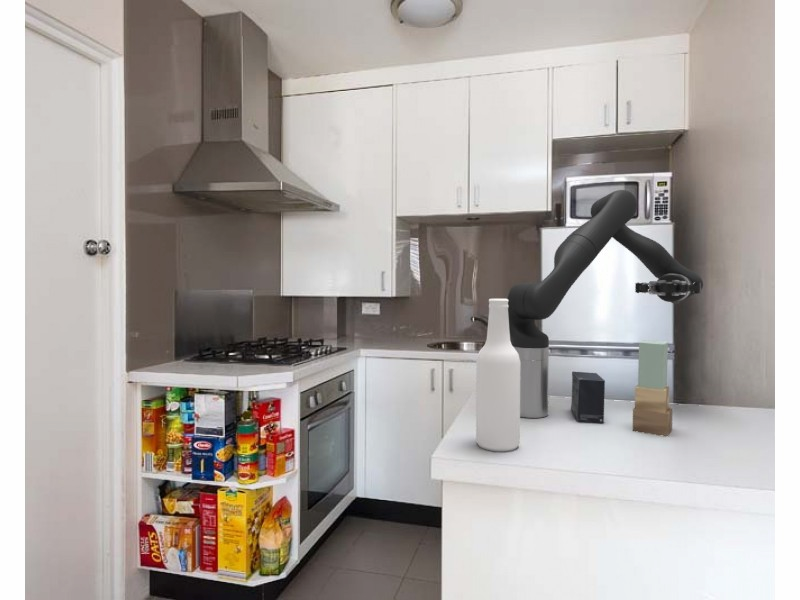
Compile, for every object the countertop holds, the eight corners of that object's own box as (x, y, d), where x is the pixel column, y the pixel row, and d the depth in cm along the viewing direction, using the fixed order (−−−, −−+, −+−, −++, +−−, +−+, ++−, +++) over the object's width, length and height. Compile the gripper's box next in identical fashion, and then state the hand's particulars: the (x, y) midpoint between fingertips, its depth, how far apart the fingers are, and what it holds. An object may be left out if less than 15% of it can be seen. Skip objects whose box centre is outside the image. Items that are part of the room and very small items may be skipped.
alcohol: (473, 450, 96) (474, 299, 95) (478, 436, 104) (479, 298, 103) (519, 454, 94) (520, 299, 93) (520, 440, 102) (521, 298, 101)
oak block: (664, 413, 105) (665, 390, 105) (634, 409, 109) (635, 387, 108) (668, 407, 110) (669, 386, 110) (639, 403, 113) (640, 382, 113)
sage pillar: (663, 390, 105) (664, 344, 105) (638, 386, 108) (639, 342, 108) (666, 386, 109) (667, 342, 109) (642, 383, 112) (643, 340, 112)
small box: (605, 424, 114) (606, 379, 114) (576, 422, 115) (577, 378, 115) (596, 412, 124) (597, 371, 124) (570, 411, 126) (570, 371, 125)
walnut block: (667, 437, 105) (668, 414, 104) (632, 431, 109) (632, 409, 108) (672, 429, 110) (672, 407, 110) (638, 424, 114) (638, 403, 114)
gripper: (644, 273, 134) (631, 272, 121) (704, 273, 125) (697, 272, 112) (643, 301, 134) (630, 302, 121) (704, 302, 125) (697, 304, 112)
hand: (663, 288), depth 117 cm, fingers open, 8 cm apart
